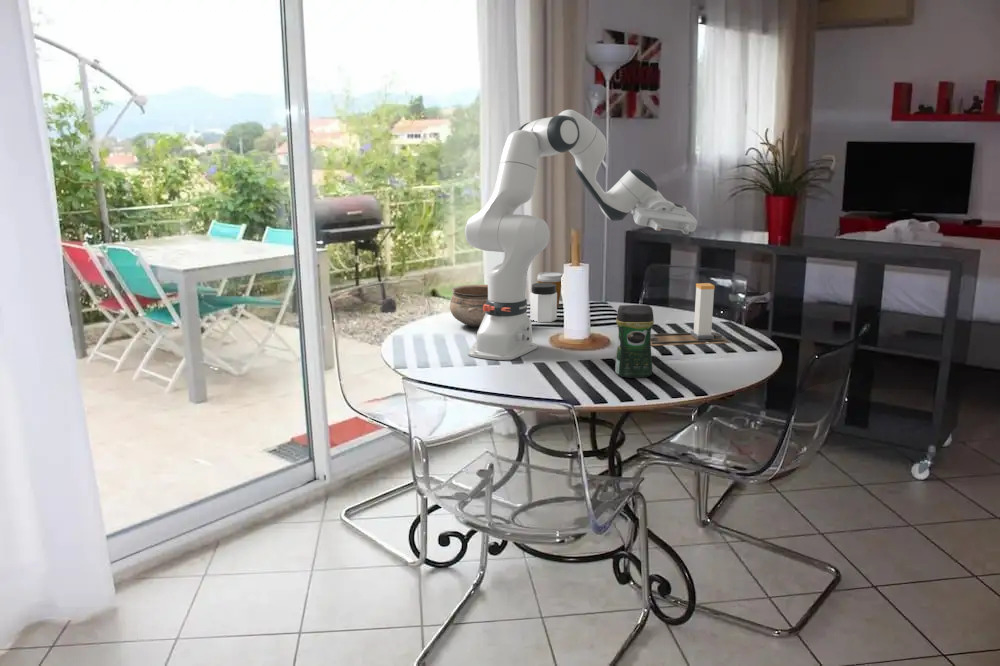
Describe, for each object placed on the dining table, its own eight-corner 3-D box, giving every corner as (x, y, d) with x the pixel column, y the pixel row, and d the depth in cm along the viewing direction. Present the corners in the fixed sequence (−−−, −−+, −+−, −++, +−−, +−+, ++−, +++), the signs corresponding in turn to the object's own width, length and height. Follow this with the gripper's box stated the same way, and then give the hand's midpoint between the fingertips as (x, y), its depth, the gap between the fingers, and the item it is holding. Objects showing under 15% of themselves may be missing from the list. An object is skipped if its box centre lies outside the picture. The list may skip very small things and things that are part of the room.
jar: (537, 315, 278) (538, 281, 275) (559, 318, 274) (560, 283, 271) (526, 321, 270) (526, 286, 267) (548, 323, 266) (549, 288, 263)
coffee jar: (649, 370, 215) (652, 302, 211) (653, 379, 208) (657, 308, 203) (613, 369, 216) (615, 302, 211) (616, 378, 208) (618, 308, 203)
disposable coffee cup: (550, 303, 298) (550, 271, 295) (568, 307, 291) (568, 274, 288) (531, 306, 292) (531, 273, 289) (549, 310, 285) (549, 277, 282)
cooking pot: (505, 336, 250) (505, 297, 247) (445, 335, 252) (444, 297, 249) (509, 317, 275) (509, 282, 272) (454, 317, 276) (454, 282, 273)
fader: (697, 339, 240) (701, 286, 236) (690, 334, 246) (693, 282, 242) (713, 338, 240) (717, 286, 237) (706, 333, 246) (709, 282, 242)
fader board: (645, 349, 235) (646, 342, 234) (633, 338, 247) (633, 331, 247) (730, 346, 238) (731, 339, 237) (714, 335, 250) (714, 328, 250)
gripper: (631, 199, 255) (644, 216, 244) (689, 207, 260) (705, 224, 249) (625, 217, 258) (638, 235, 247) (683, 225, 263) (699, 243, 252)
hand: (672, 230), depth 248 cm, fingers open, 8 cm apart
